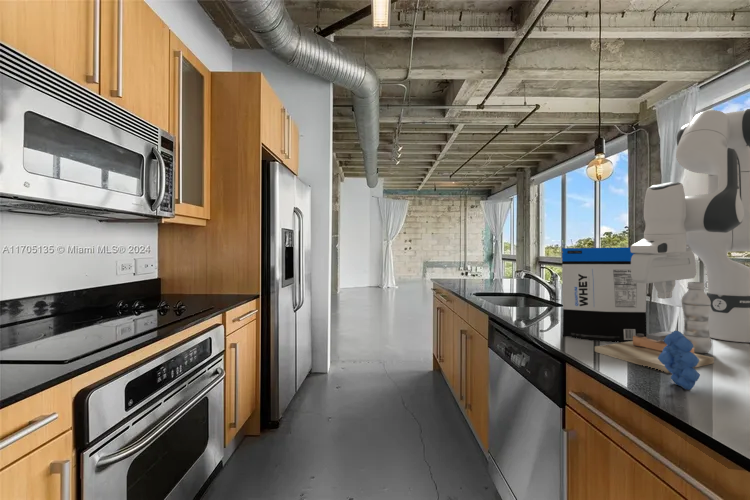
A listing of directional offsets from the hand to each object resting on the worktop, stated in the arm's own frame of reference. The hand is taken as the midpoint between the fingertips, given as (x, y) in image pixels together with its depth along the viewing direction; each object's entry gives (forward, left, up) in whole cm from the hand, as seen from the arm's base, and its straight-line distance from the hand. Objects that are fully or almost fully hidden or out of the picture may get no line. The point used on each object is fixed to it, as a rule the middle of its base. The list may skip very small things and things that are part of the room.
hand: (664, 298), depth 101 cm
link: (-5, -4, -15) cm, 16 cm away
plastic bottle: (-18, -3, -17) cm, 25 cm away
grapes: (+14, +11, -17) cm, 25 cm away
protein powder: (-9, -25, -17) cm, 32 cm away
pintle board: (-2, -5, -17) cm, 18 cm away
